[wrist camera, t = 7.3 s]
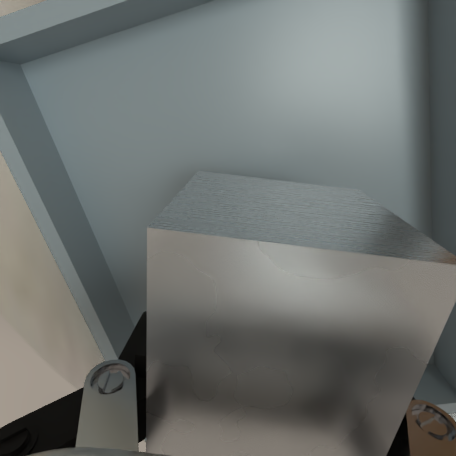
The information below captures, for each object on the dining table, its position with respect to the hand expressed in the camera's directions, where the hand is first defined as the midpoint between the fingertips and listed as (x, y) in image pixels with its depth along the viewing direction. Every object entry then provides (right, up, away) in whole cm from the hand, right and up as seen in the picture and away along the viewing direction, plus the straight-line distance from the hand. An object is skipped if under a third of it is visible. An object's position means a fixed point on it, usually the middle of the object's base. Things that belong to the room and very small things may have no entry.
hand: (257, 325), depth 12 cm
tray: (0, +4, +5) cm, 7 cm away
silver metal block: (0, 0, +1) cm, 1 cm away
